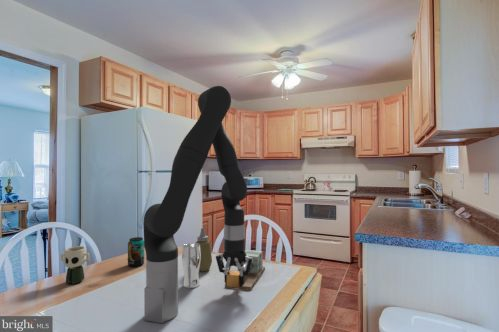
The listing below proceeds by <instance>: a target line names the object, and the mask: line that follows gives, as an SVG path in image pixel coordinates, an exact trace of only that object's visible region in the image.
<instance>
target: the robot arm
mask: <svg viewBox="0 0 499 332" xmlns="http://www.w3.org/2000/svg"><path fill="white" fill-rule="evenodd" d="M231 104H232V95H231V93H230V91H229V89H228V88H226V87H225V86H222V85H214V86H211V87H210V88H208V89H206V90H205V91H203V92H202V93H200V95H199V96H198V99H197V107H198V109H199V112H200V116H199V117H198V119H197V121H196V122H195V123H194V125H193V126H192V127H191V129H190V130H189V131H188V133H187V134H186V135H185V136H184V138H183V140H182V141H181V143H180V145H179V147H178V149H177V152H176V153H175V155H174V159H173V161H172V165H171V166H172V167H171V173H170V181H169V186H168V188H167V190H166V193H165V194H164V198H163V199H162V201H161V203H155V204H152V205H151V206H149V207H148V208H147V210H146V211H145V213H144V216H143V241H144V252H145V261H146V262H145V267H146V268H145V276H146V278H145V285H146V286H145V287H144V289H143V290H144V297H143V298H144V300H143V301H144V316H143V317H144V318H143V319H144V321H146V322H151V323H152V322H153V323H157V324H164V323H165V322H167V321H170V320H173V319H174V318H175V317H176V316H178V314H179V249H178V245H177V244H176V241H175V237H174V235H175V234H176V233H177V232H178V231H179V229H180V228H181V226H182V223H183V221H184V217H185V213H186V211H187V207H188V204H189V201H190V199H191V198H190V197H191V196H192V192H193V191H194V188H195V186H196V183H197V180H198V179H199V176H200V173H201V172H202V170H203V167H204V165H205V163H206V161H207V158H208V155H209V152H210V150H211V147H213V149H214V153H215V157H216V159H215V160H216V162H217V167H218V171H219V173H220V174H221V176H223V177H224V180H225V182H224V183H223V184H222V187H221V191H220V192H221V201H222V207H223V211H224V227H223V253H222V254H221V253H218V254H217V255H216V256H215V260H216V264H217V267H218V270H219V272H220V273H222V274H224V284H226V285H227V274H228V273H229V272H230V271H231V267H235V268H237V271H238V270H239V273H240V277H239V279H240V287H242V286H243V285H244V283H245V275H248V274H249V273H250V270H251V267H252V263H253V260H254V258H253V257H248V256H246V253H245V250H246V227H245V211H244V210H245V209H243V208H242V206H241V203H240V202H242V201H243V200H244V199H245V198H246V196H247V194H248V185H247V182H246V180H245V178H244V176H243V173H242V171H241V168H240V166H239V162H238V161H239V160H238V157H237V152H236V149H235V147H234V144H233V143H232V141H231V139H230V137H229V136H228V134H227V132H226V130H225V128H224V125H223V121H224V119H225V117H226V115H227V113H228V112H229V109H230V108H231ZM245 259H246V263H248V264H247V267H246V270H245V269H244V264H243V261H244V260H245ZM224 260H225V262H226V263H225V264H224Z"/></svg>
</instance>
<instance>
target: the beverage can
mask: <svg viewBox="0 0 499 332" xmlns="http://www.w3.org/2000/svg"><path fill="white" fill-rule="evenodd" d="M144 264H145V247H144V237H140V236H138V237H135V236H134V237H131V238H129V241H128V243H127V265H128V266H129V267H130V268H139V267H141V266H143V265H144Z"/></svg>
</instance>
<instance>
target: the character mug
mask: <svg viewBox="0 0 499 332" xmlns="http://www.w3.org/2000/svg"><path fill="white" fill-rule="evenodd" d="M60 261H61V262H63V264H64V267H66V268H67V270H66V275H65V284H70V283H71V284H72V285H73V284H77V283H81V282H82V281H83V280H85V272H84V271H85V270H84V267H83V265H85V264H86V263H87V262H90V253H89V252H87V250H86V246H81V245H80V246H79V245H77V246H70V247H68V248H65V249H64V252H62V253H61V254H60Z"/></svg>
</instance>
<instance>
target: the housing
mask: <svg viewBox="0 0 499 332" xmlns="http://www.w3.org/2000/svg"><path fill="white" fill-rule="evenodd" d="M245 253H246V256H248V257H253V258H254V260H253V263H252V267H251V270H250V273H249V274H248V275H245V283H244V285H243V286H242V287H240V286H239V287H232V286H227V285H226V283H224V287H225V288H228V289H233V290H234V289H236V290H244V291H252V290H253V289H254V287H255V285H256V284H257V282H258V281H259V280H260V277H262V275H263V273H264V272H265V270H266V266H264V265H263V259H264V258H263V251H262V250H253V249H252V250H250V249H245ZM245 262H246V259H245V260H244V261H243V264H244V263H245Z"/></svg>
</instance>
